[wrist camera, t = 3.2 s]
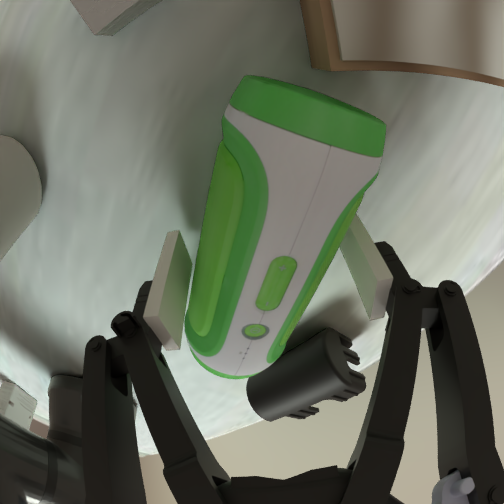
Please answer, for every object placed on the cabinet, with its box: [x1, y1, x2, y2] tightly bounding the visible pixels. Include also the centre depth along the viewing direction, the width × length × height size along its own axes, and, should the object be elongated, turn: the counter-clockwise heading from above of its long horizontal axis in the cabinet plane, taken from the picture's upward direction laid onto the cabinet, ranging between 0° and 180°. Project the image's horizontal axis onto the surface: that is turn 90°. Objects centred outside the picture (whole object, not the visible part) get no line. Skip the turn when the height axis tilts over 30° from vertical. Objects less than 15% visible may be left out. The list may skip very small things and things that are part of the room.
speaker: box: [185, 75, 386, 379], centre depth 16 cm, size 18×7×8 cm, turn 166°
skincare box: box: [0, 381, 37, 430], centre depth 36 cm, size 8×6×15 cm
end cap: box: [246, 328, 366, 422], centre depth 26 cm, size 10×7×7 cm
